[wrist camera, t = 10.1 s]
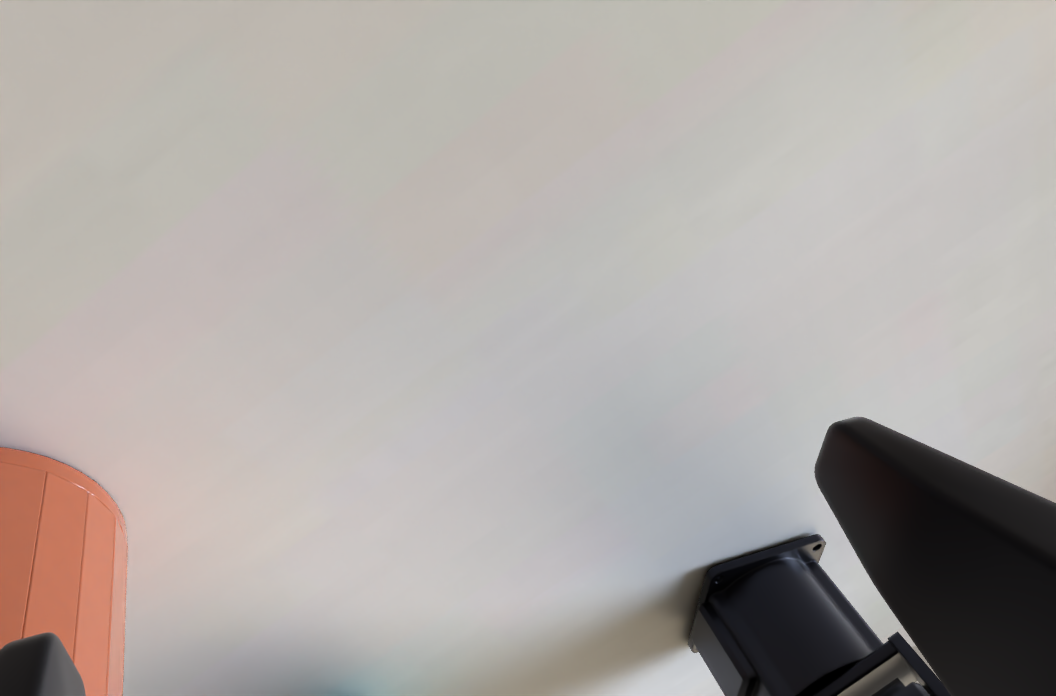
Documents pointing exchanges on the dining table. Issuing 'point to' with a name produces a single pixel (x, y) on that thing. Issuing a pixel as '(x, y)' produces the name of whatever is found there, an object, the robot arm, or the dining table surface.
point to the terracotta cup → (63, 565)
